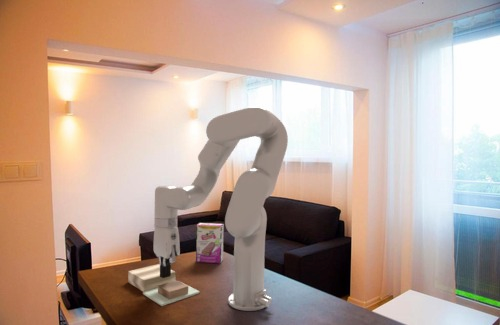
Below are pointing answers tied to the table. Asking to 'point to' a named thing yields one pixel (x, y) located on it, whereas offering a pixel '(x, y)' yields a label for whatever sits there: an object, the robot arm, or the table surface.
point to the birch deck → (149, 277)
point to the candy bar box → (209, 243)
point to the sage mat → (163, 301)
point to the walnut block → (172, 289)
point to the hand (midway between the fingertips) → (165, 276)
